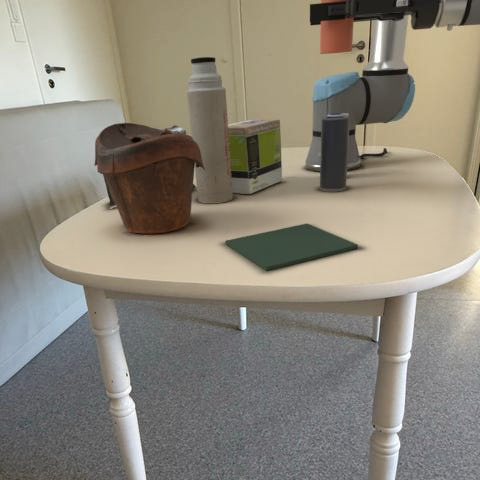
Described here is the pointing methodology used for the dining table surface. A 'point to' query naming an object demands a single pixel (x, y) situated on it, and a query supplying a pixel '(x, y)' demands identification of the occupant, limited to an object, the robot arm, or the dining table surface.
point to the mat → (289, 246)
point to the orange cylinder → (336, 34)
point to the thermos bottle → (210, 131)
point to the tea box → (254, 155)
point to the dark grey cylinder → (334, 154)
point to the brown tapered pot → (148, 175)
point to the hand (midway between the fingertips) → (310, 15)
